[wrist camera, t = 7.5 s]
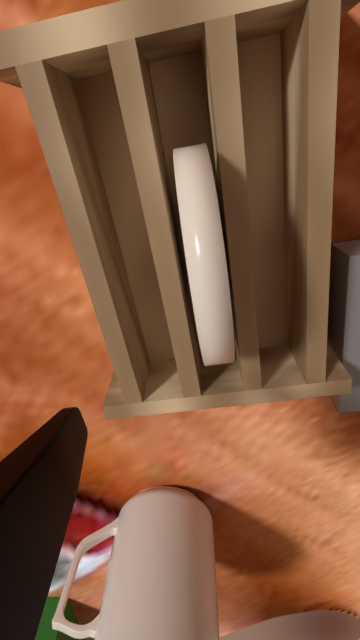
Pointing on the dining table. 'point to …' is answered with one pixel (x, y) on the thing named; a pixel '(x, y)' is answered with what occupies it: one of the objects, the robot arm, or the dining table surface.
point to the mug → (153, 572)
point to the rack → (161, 195)
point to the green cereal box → (46, 635)
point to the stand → (346, 318)
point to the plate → (204, 253)
